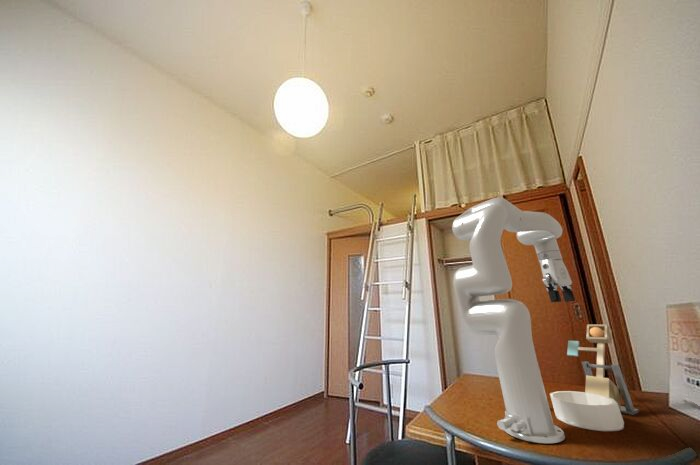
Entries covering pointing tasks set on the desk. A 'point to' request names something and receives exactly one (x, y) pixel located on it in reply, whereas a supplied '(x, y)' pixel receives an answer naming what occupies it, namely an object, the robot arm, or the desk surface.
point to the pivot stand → (621, 384)
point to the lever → (597, 383)
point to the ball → (597, 332)
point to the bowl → (587, 410)
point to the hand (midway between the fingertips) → (563, 301)
